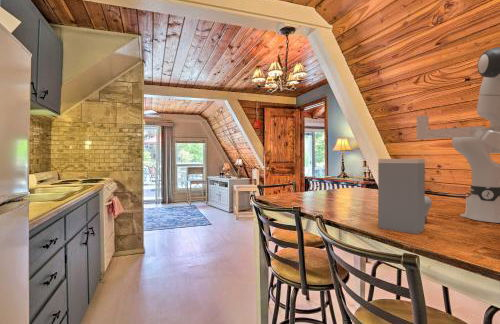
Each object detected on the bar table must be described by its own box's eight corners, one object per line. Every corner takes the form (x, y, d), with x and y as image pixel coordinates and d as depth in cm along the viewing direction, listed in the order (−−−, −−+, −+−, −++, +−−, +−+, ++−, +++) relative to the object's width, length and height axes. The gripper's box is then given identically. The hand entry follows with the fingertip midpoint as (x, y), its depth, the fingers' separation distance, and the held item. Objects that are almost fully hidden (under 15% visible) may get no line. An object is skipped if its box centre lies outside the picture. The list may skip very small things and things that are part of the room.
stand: (387, 223, 110) (387, 158, 110) (424, 229, 101) (424, 158, 101) (378, 227, 103) (378, 158, 103) (417, 234, 94) (417, 158, 94)
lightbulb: (434, 224, 108) (434, 196, 108) (417, 223, 110) (417, 196, 109) (428, 220, 114) (428, 194, 114) (411, 220, 115) (412, 194, 115)
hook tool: (418, 139, 99) (418, 117, 99) (483, 136, 87) (484, 110, 87) (416, 138, 97) (416, 116, 97) (483, 135, 84) (483, 109, 84)
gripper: (529, 142, 86) (479, 124, 94) (532, 139, 71) (473, 118, 79) (515, 160, 88) (468, 140, 96) (515, 160, 73) (459, 137, 82)
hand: (470, 130), depth 88 cm, fingers closed on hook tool, 3 cm apart
